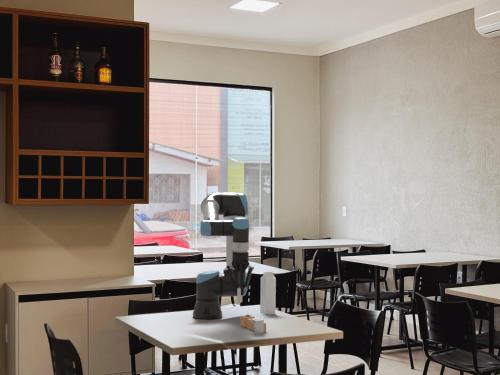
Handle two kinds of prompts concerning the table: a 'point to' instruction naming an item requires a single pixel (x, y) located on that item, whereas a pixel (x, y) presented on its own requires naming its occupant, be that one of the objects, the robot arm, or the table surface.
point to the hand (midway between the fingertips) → (239, 302)
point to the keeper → (258, 325)
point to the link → (249, 322)
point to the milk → (268, 293)
